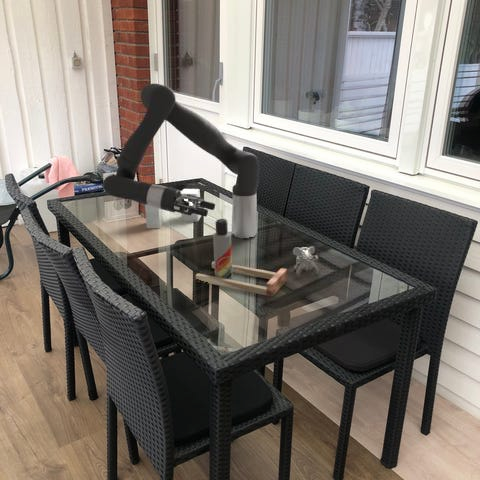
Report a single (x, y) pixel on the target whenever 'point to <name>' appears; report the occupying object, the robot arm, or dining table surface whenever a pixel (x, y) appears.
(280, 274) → the guide lane
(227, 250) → the lotion bottle
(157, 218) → the skincare box
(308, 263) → the elephant statuette
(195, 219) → the supplement box
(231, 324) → the dining table surface
